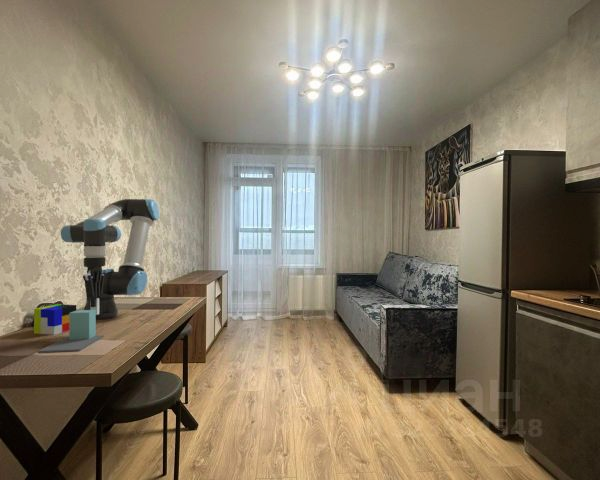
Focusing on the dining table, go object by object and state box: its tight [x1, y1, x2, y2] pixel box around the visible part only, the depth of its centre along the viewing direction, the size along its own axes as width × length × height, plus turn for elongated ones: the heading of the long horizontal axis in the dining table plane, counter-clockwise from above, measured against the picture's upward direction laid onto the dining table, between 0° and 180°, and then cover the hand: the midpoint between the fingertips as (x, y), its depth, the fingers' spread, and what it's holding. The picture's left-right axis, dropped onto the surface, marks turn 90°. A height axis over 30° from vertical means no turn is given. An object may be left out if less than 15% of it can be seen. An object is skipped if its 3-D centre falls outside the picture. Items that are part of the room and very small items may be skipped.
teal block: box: [68, 309, 97, 340], centre depth 121 cm, size 4×7×10 cm, turn 96°
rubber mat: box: [37, 334, 104, 354], centre depth 115 cm, size 16×13×1 cm
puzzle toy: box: [33, 303, 77, 336], centre depth 133 cm, size 10×10×10 cm
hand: (94, 314), depth 130 cm, fingers closed
